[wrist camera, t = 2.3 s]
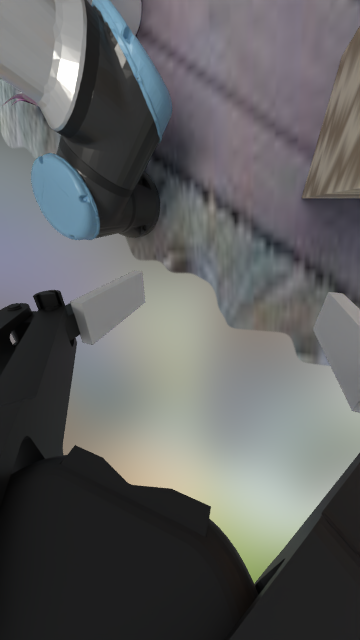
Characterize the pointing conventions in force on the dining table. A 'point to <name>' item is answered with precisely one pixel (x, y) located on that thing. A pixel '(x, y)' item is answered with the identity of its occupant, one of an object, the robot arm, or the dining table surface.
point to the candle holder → (129, 12)
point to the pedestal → (339, 135)
